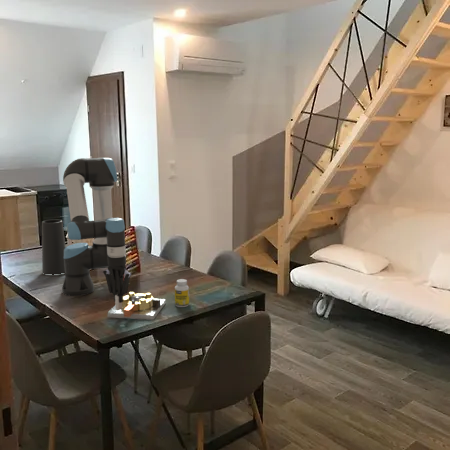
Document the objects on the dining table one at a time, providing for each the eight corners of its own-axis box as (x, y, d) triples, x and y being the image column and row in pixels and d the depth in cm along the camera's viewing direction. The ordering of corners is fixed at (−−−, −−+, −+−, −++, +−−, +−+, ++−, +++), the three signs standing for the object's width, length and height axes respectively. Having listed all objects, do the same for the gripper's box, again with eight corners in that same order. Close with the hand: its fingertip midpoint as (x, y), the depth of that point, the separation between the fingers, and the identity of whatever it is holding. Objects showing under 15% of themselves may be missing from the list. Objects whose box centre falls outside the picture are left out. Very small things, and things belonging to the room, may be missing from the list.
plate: (107, 317, 218) (107, 303, 217) (123, 301, 238) (123, 288, 237) (154, 319, 215) (154, 306, 214) (166, 303, 235) (166, 290, 234)
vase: (73, 271, 286) (70, 220, 280) (53, 277, 275) (50, 224, 269) (57, 267, 293) (53, 218, 287) (37, 273, 282) (33, 221, 276)
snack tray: (127, 299, 234) (127, 290, 233) (156, 300, 232) (156, 291, 231) (111, 315, 214) (111, 306, 213) (142, 317, 212) (142, 308, 211)
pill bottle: (172, 306, 231) (171, 281, 229) (178, 301, 237) (178, 277, 235) (185, 308, 229) (185, 283, 226) (191, 303, 235) (191, 279, 232)
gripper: (98, 256, 212) (100, 310, 217) (124, 259, 207) (126, 314, 212) (109, 251, 219) (111, 304, 224) (134, 254, 214) (136, 308, 219)
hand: (118, 309), depth 218 cm, fingers closed
